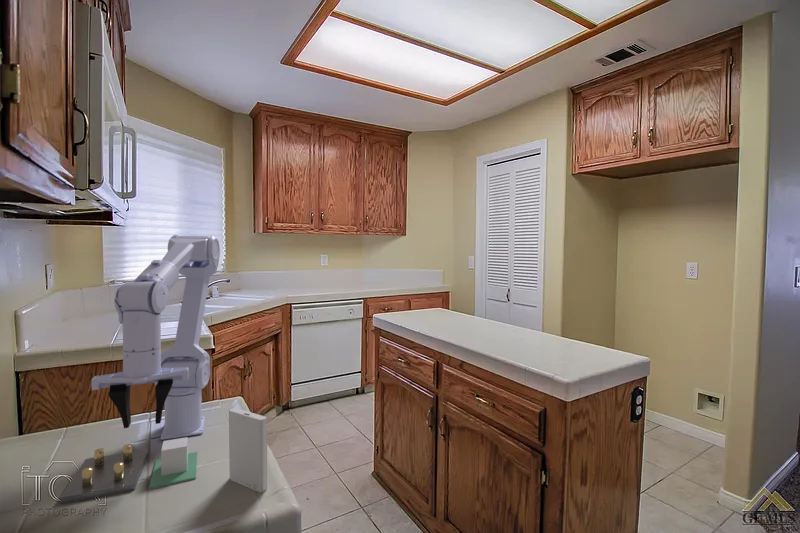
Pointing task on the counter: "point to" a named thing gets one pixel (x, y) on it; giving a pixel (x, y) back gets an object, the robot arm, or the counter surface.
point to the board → (175, 476)
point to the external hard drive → (248, 449)
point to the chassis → (106, 475)
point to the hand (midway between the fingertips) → (143, 423)
